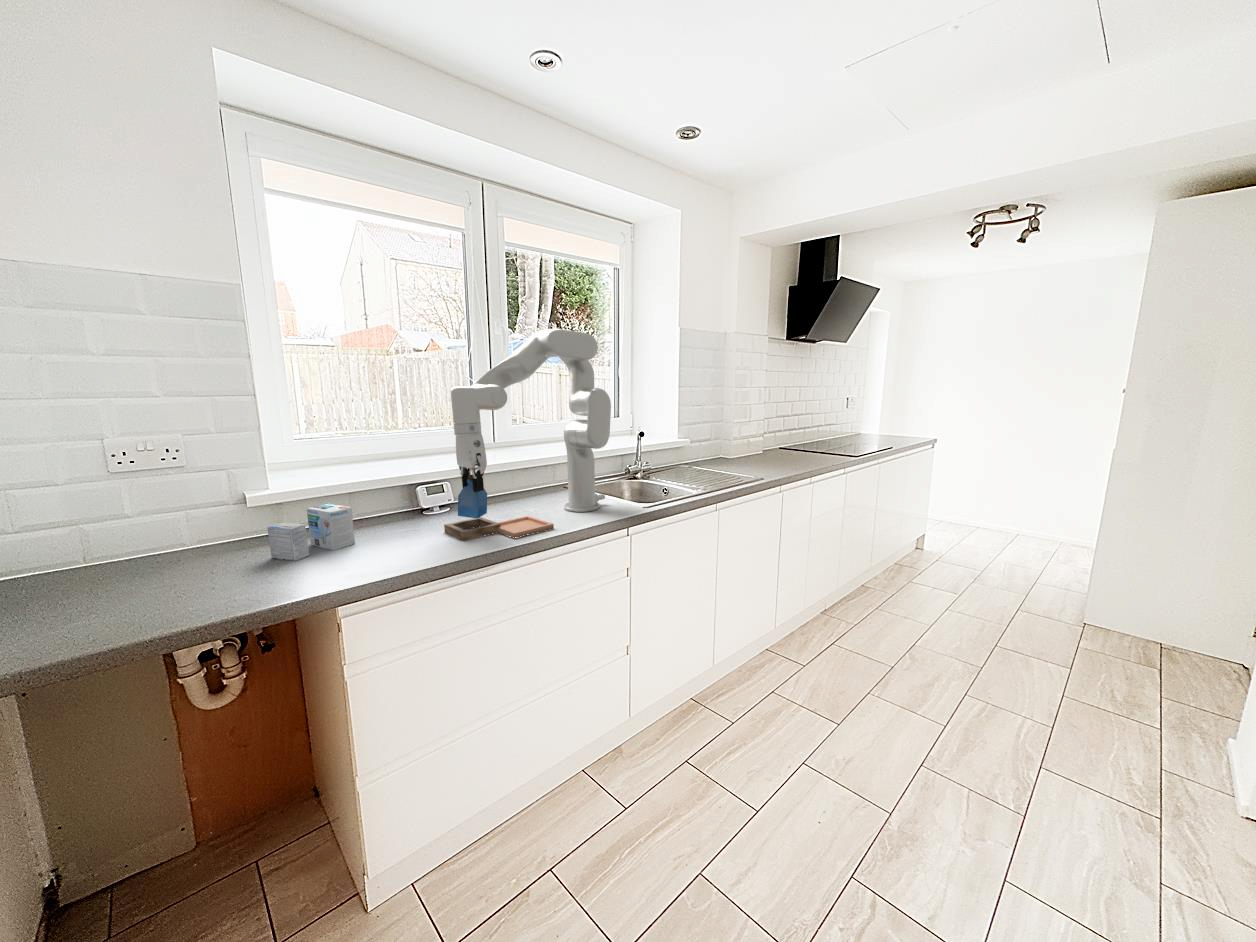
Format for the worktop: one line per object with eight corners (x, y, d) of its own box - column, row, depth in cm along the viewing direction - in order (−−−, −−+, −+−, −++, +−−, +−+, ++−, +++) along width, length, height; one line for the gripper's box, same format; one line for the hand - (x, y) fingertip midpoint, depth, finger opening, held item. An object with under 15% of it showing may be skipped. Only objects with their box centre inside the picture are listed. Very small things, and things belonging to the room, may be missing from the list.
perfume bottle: (486, 513, 153) (487, 474, 151) (477, 518, 147) (478, 478, 145) (467, 510, 154) (468, 472, 152) (457, 515, 148) (458, 476, 146)
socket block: (480, 524, 160) (480, 516, 159) (500, 531, 151) (500, 523, 151) (444, 532, 151) (444, 524, 151) (463, 540, 143) (463, 532, 143)
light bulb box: (309, 545, 141) (305, 508, 139) (333, 538, 147) (329, 502, 145) (333, 550, 136) (328, 512, 134) (356, 543, 142) (352, 506, 140)
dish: (527, 520, 164) (527, 515, 164) (553, 528, 154) (553, 523, 154) (489, 529, 154) (489, 524, 154) (514, 538, 144) (514, 533, 144)
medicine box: (310, 555, 132) (306, 524, 130) (294, 561, 127) (290, 528, 126) (286, 553, 134) (282, 522, 132) (270, 559, 130) (266, 526, 128)
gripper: (494, 429, 142) (499, 491, 146) (465, 426, 154) (470, 483, 158) (470, 432, 137) (476, 496, 141) (442, 428, 149) (448, 488, 153)
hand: (473, 489), depth 149 cm, fingers closed on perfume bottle, 5 cm apart
